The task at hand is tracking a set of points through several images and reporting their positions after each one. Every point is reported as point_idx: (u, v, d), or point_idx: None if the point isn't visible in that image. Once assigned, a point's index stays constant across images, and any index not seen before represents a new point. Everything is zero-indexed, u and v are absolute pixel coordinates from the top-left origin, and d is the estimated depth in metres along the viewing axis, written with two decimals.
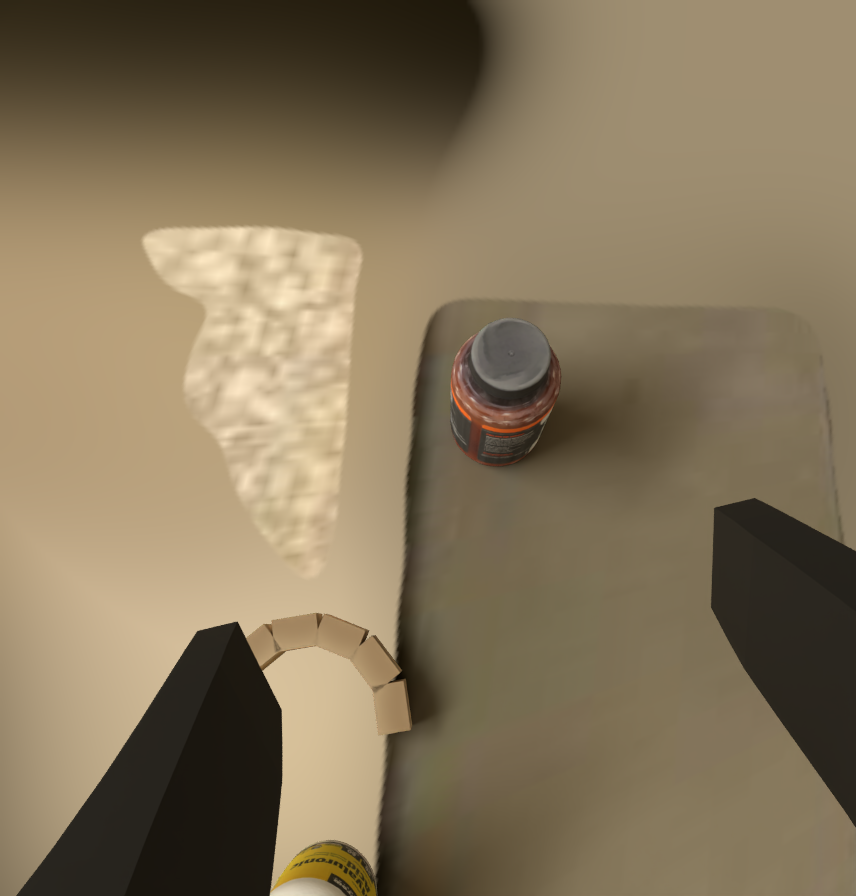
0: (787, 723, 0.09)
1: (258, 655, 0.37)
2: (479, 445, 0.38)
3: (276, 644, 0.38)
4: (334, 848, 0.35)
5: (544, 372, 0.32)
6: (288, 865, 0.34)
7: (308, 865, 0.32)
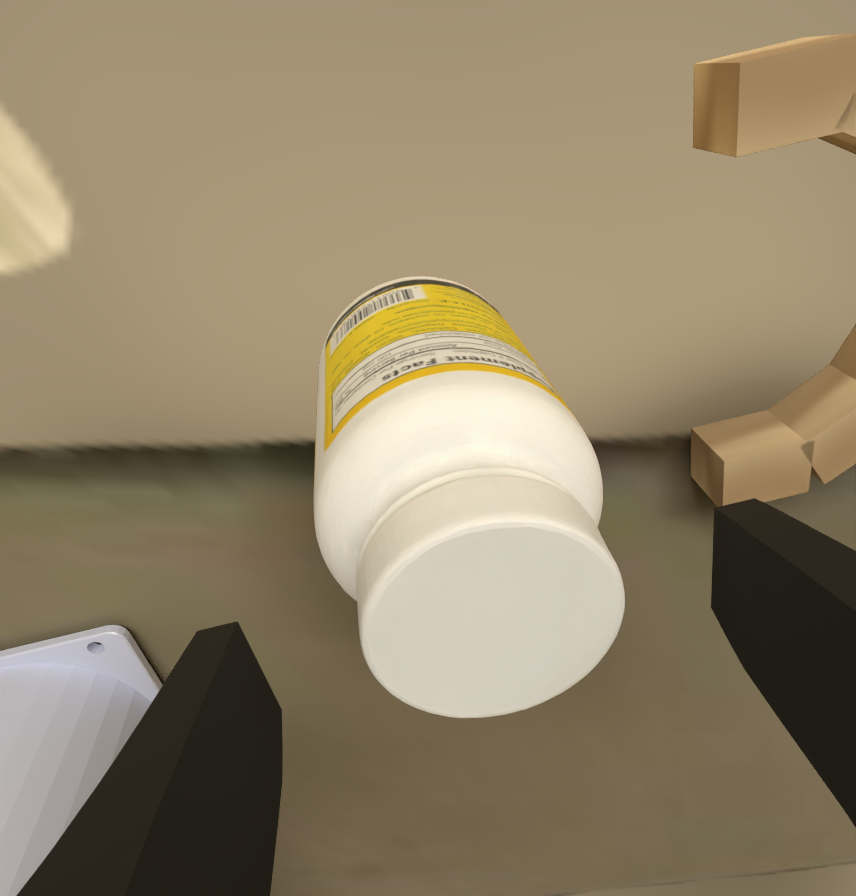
0: (787, 723, 0.09)
1: None
2: None
3: None
4: None
5: None
6: (502, 319, 0.15)
7: None
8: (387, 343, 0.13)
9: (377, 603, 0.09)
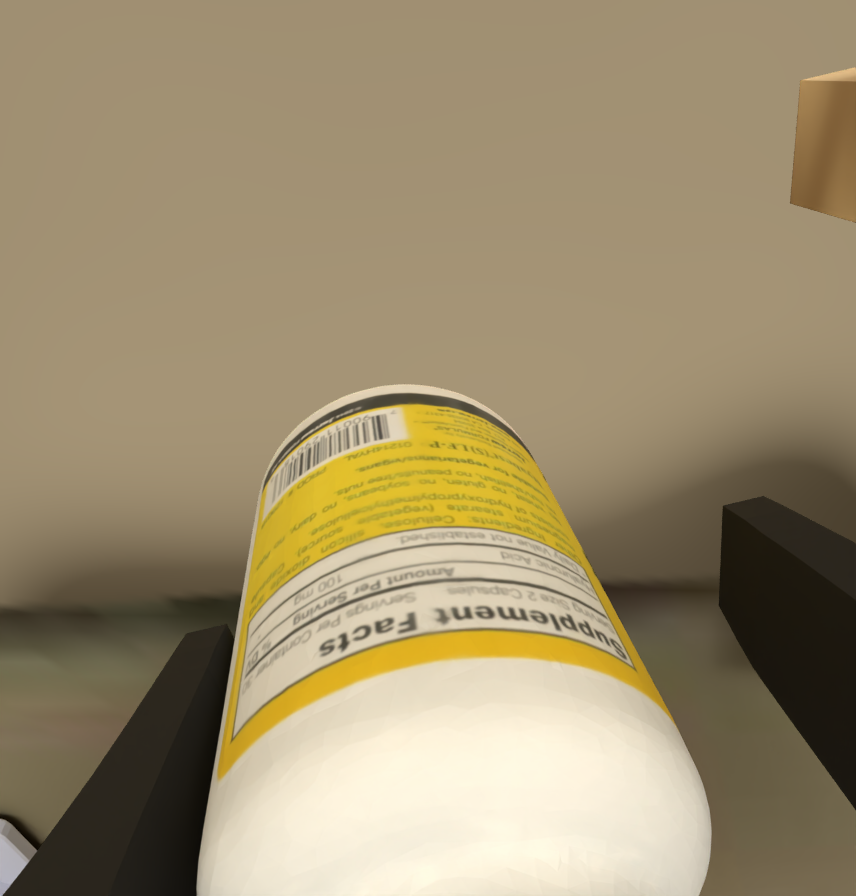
0: (797, 721, 0.09)
1: None
2: None
3: None
4: None
5: None
6: (523, 460, 0.10)
7: None
8: (338, 547, 0.08)
9: None
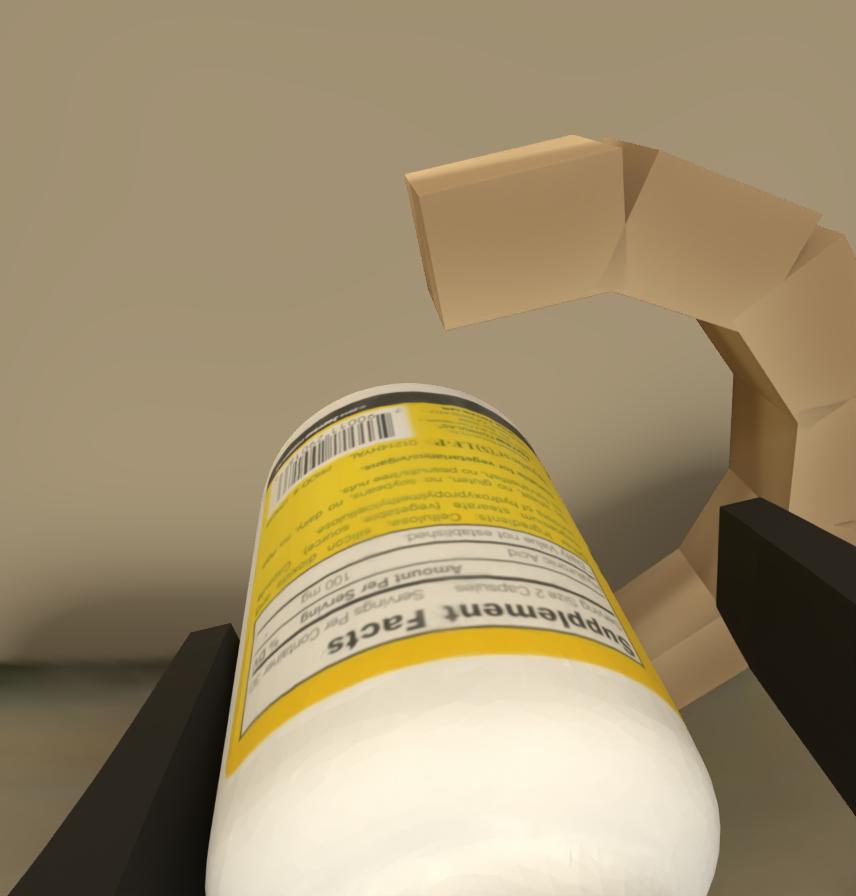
0: (792, 721, 0.09)
1: (804, 359, 0.10)
2: None
3: (823, 413, 0.10)
4: None
5: None
6: (528, 458, 0.10)
7: None
8: (345, 545, 0.08)
9: None
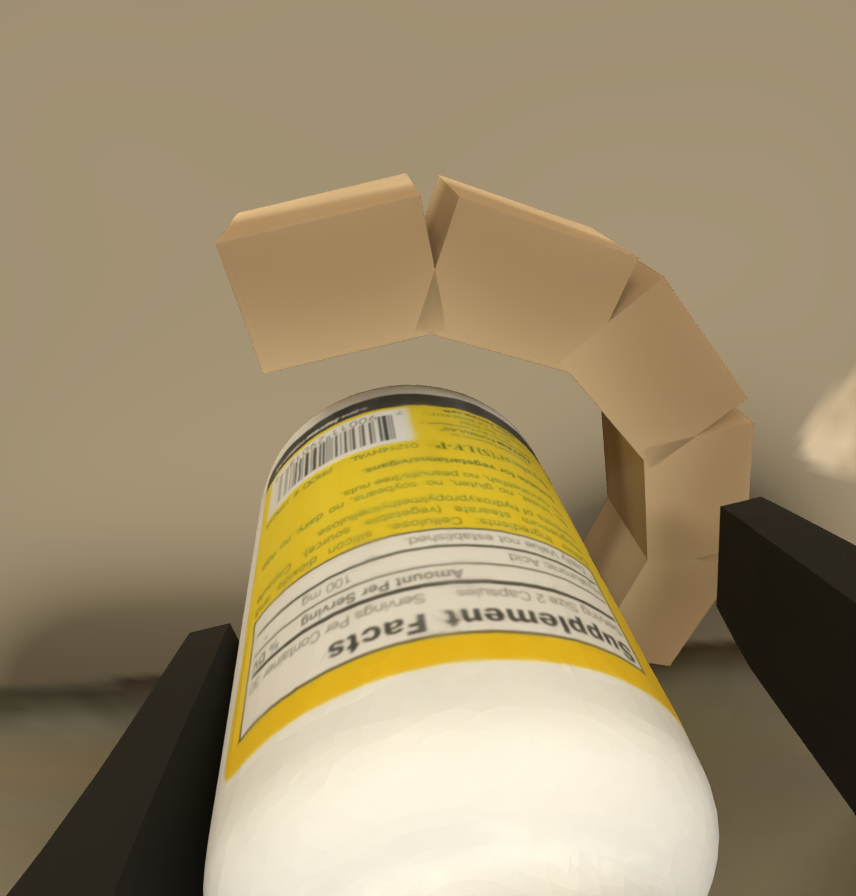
0: (793, 722, 0.09)
1: (640, 398, 0.10)
2: None
3: (668, 450, 0.10)
4: None
5: None
6: (529, 462, 0.10)
7: None
8: (346, 548, 0.08)
9: None
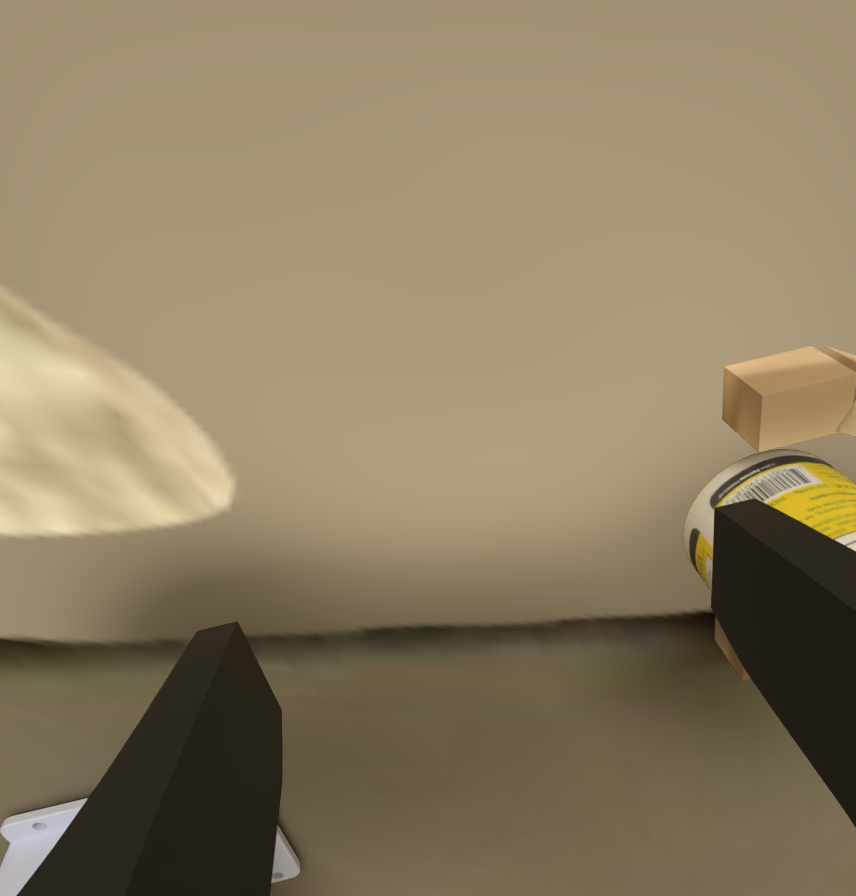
0: (787, 723, 0.09)
1: None
2: None
3: None
4: None
5: None
6: None
7: None
8: (835, 535, 0.17)
9: None
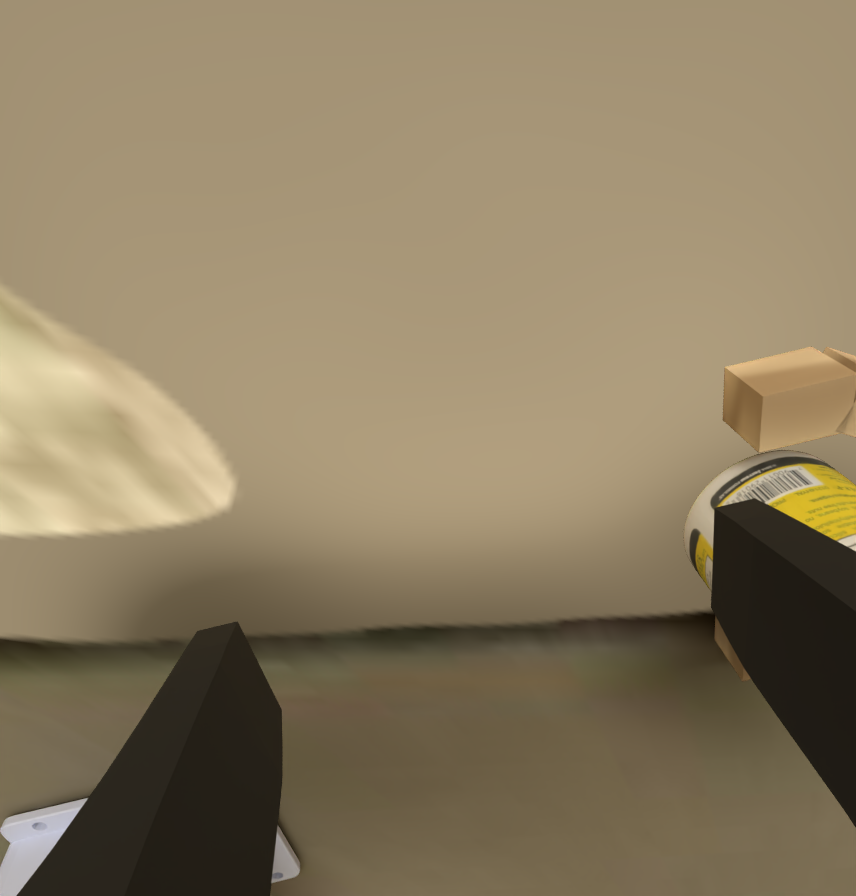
0: (787, 723, 0.09)
1: None
2: None
3: None
4: None
5: None
6: None
7: None
8: (837, 538, 0.17)
9: None
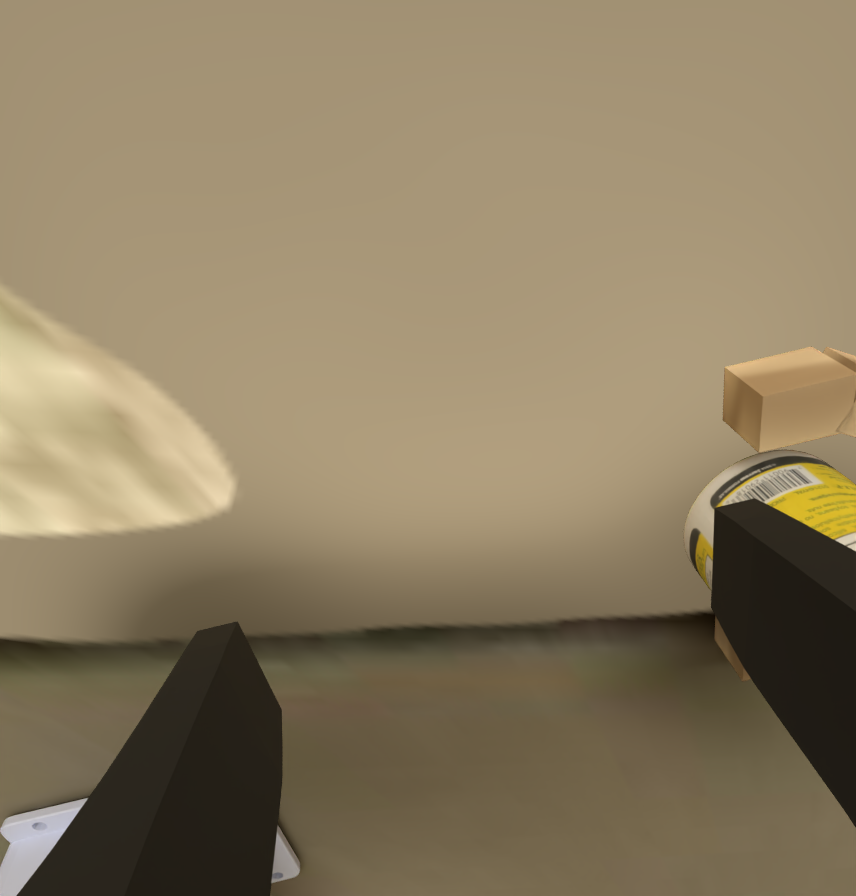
0: (787, 723, 0.09)
1: None
2: None
3: None
4: None
5: None
6: None
7: None
8: (836, 536, 0.17)
9: None
